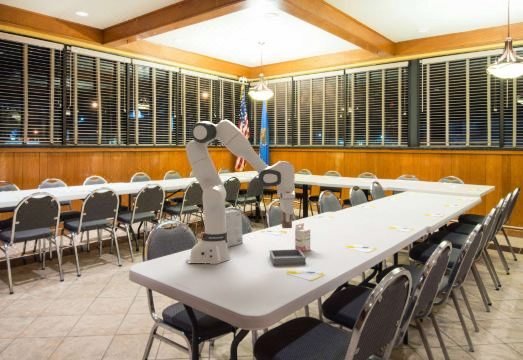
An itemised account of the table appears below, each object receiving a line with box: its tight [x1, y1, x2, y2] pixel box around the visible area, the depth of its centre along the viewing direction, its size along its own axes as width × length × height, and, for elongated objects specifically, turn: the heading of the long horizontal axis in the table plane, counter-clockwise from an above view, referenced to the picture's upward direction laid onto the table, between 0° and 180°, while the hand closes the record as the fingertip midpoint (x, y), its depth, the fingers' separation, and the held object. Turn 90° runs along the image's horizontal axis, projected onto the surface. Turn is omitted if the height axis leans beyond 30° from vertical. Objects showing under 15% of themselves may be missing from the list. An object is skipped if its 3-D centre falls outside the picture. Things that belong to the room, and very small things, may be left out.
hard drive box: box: [225, 209, 244, 248], centre depth 241 cm, size 16×8×20 cm, turn 135°
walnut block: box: [281, 210, 293, 229], centre depth 204 cm, size 4×4×8 cm
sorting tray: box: [269, 248, 307, 267], centre depth 205 cm, size 16×16×4 cm
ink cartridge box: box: [294, 222, 311, 253], centre depth 225 cm, size 9×5×15 cm, turn 141°
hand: (286, 220), depth 204 cm, fingers closed on walnut block, 4 cm apart
